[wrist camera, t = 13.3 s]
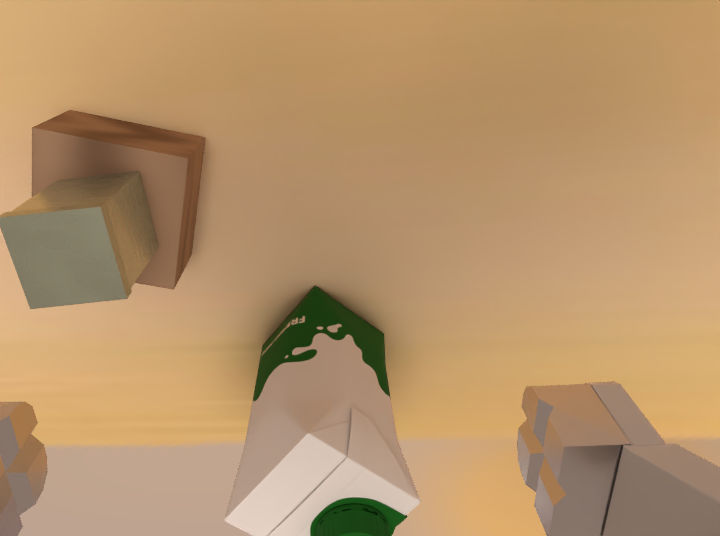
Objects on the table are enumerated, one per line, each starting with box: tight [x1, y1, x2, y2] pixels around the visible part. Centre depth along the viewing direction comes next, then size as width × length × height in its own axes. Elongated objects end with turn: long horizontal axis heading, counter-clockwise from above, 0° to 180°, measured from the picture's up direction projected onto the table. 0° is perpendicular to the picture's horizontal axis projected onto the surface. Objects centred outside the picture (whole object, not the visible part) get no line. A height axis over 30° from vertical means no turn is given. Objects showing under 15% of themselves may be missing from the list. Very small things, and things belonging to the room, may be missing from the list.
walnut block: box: [32, 110, 205, 289], centre depth 41 cm, size 9×9×6 cm
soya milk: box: [224, 286, 420, 536], centre depth 40 cm, size 9×9×20 cm
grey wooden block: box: [0, 171, 159, 309], centre depth 35 cm, size 5×5×7 cm
